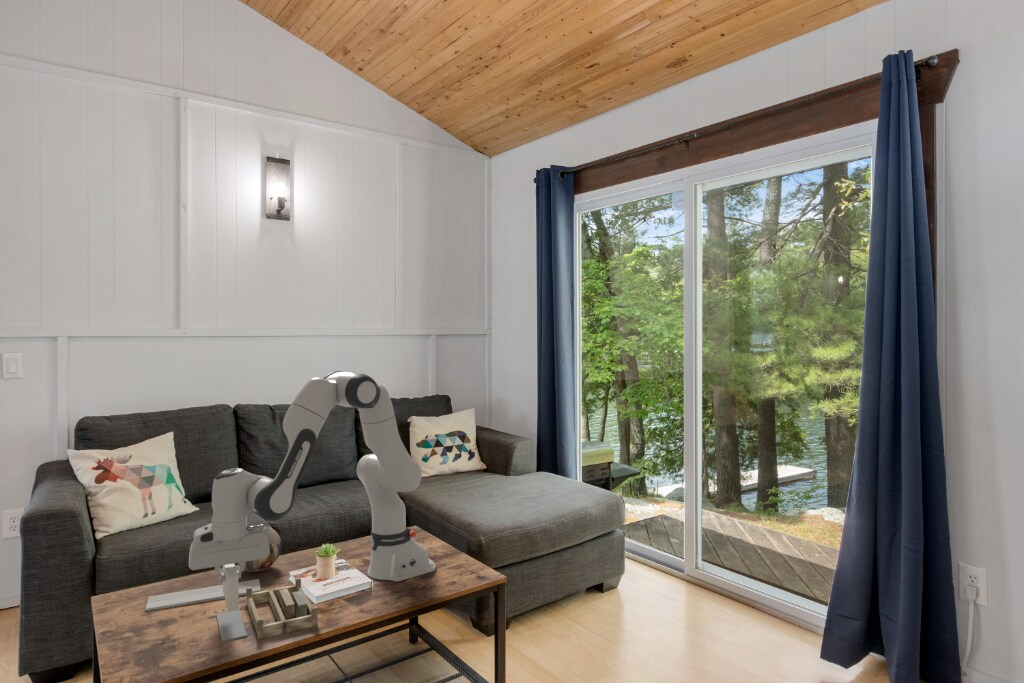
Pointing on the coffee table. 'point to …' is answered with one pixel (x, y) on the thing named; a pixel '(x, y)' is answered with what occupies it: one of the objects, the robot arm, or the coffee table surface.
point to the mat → (231, 625)
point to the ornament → (271, 559)
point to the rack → (279, 612)
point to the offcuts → (292, 603)
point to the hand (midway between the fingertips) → (230, 579)
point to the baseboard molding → (197, 595)
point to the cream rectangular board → (231, 587)
